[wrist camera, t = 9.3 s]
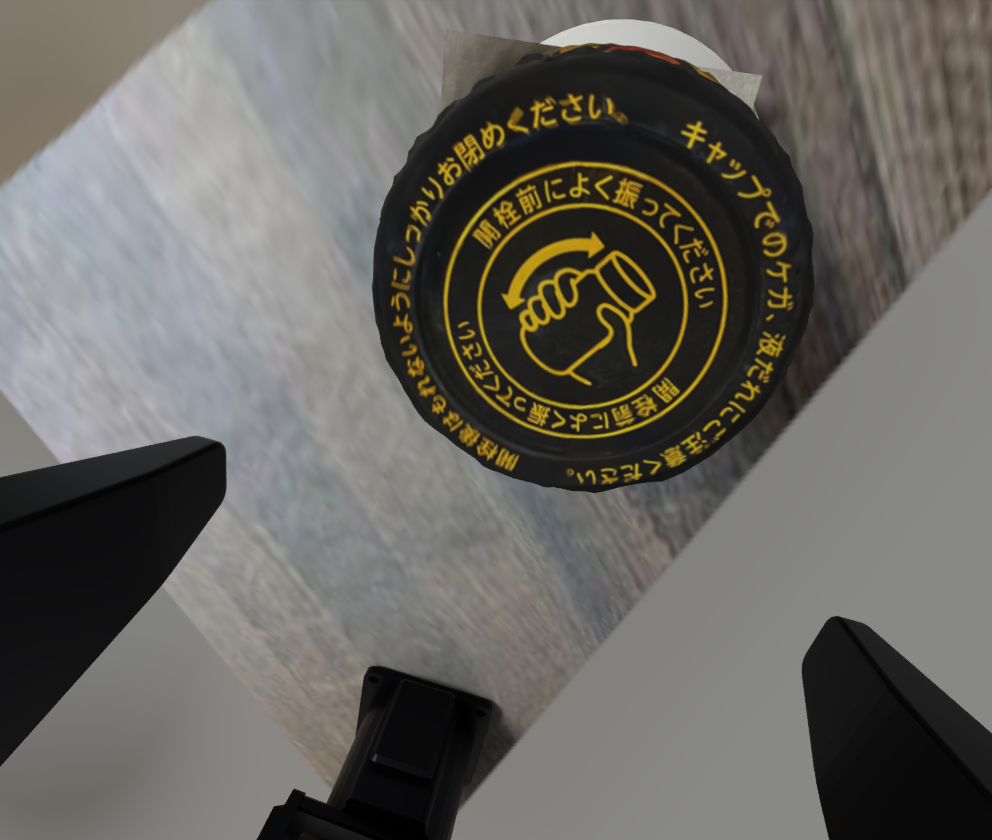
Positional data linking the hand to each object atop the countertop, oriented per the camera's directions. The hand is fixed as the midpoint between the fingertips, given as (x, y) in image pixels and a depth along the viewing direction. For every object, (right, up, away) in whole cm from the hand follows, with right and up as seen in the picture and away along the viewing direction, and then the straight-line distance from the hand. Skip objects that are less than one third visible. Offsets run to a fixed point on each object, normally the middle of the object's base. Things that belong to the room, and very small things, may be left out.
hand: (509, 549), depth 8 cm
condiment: (+2, +9, +9) cm, 13 cm away
